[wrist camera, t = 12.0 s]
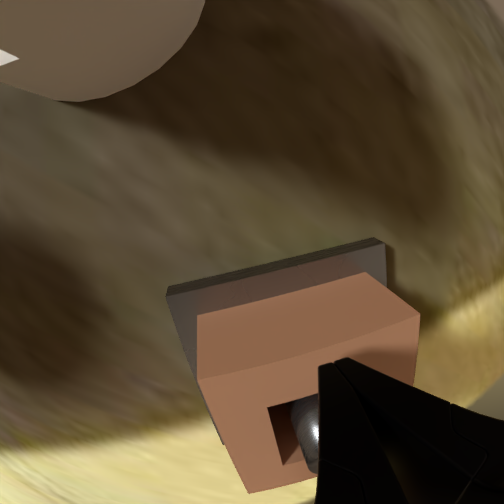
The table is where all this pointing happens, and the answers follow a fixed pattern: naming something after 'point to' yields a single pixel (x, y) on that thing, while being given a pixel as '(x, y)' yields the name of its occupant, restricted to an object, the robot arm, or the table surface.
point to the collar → (294, 365)
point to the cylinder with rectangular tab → (89, 43)
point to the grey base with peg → (266, 286)
